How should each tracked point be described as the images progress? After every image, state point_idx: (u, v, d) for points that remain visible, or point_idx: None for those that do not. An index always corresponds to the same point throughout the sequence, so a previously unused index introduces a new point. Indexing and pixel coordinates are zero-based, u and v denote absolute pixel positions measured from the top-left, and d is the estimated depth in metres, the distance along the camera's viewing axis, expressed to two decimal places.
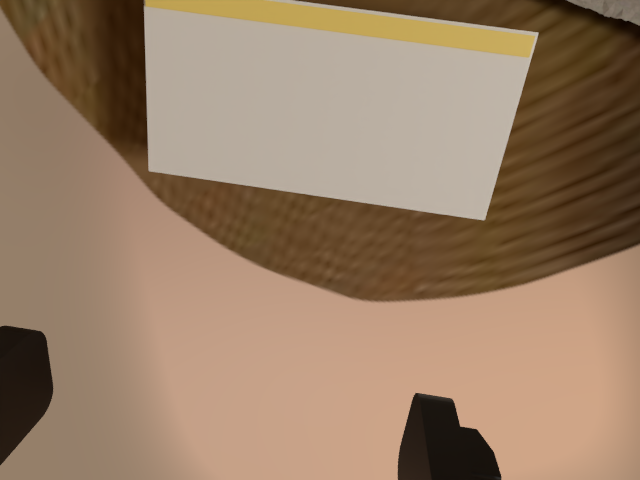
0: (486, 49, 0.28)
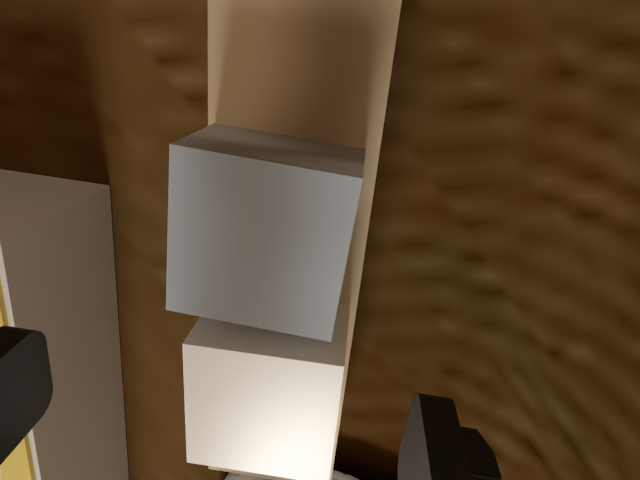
0: None
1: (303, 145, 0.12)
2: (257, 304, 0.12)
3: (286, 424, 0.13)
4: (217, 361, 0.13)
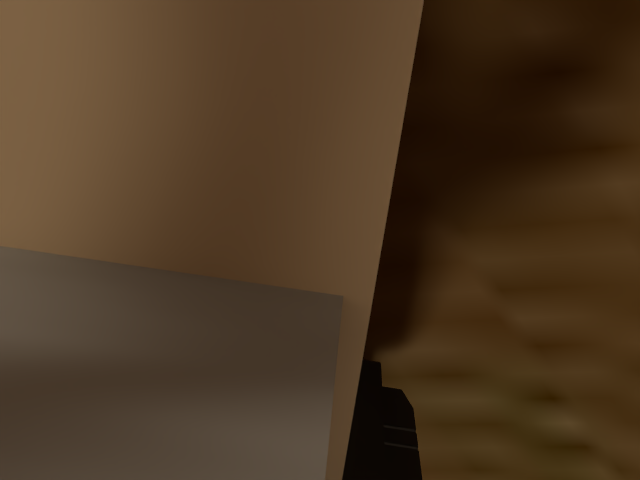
0: None
1: (172, 317, 0.05)
2: None
3: None
4: None
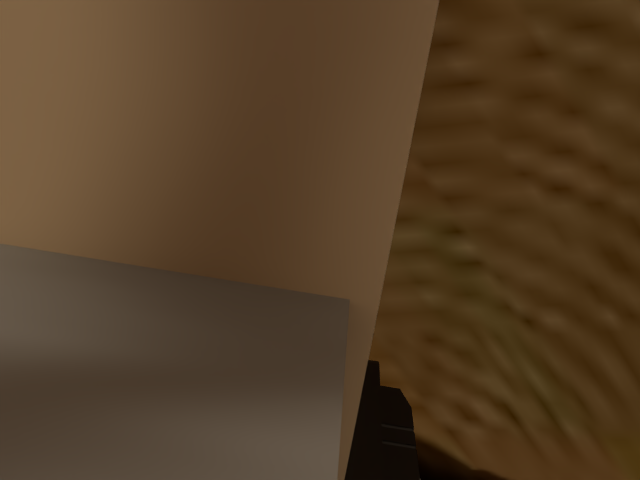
0: None
1: (178, 319, 0.05)
2: None
3: None
4: None
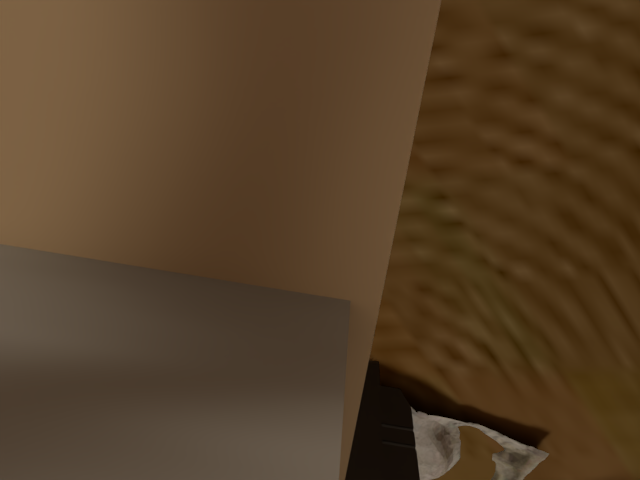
0: None
1: (179, 320, 0.05)
2: None
3: None
4: None
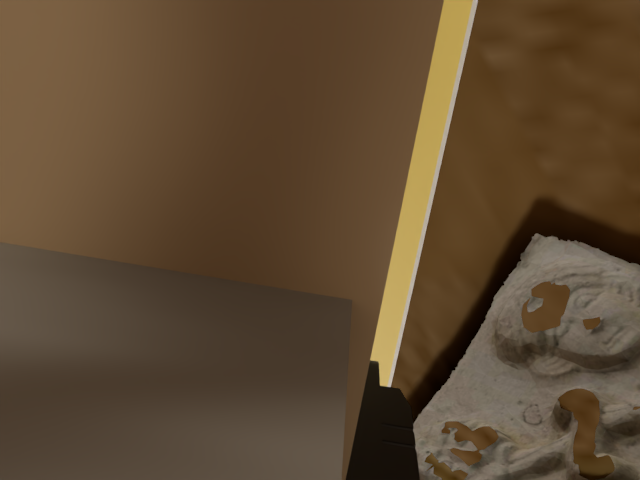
0: None
1: (180, 319, 0.04)
2: None
3: None
4: None
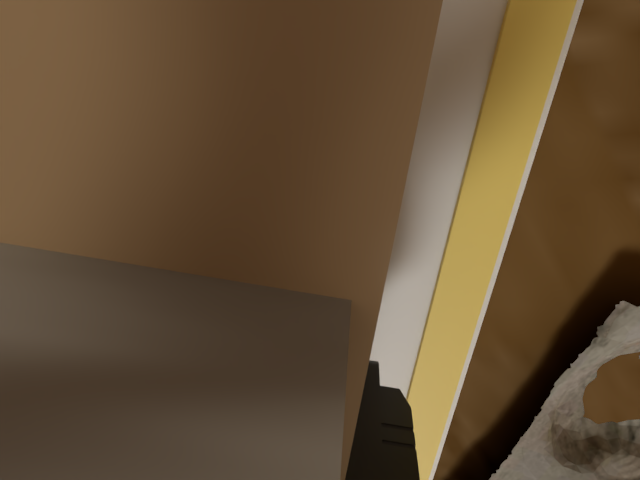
0: None
1: (179, 319, 0.05)
2: None
3: None
4: None
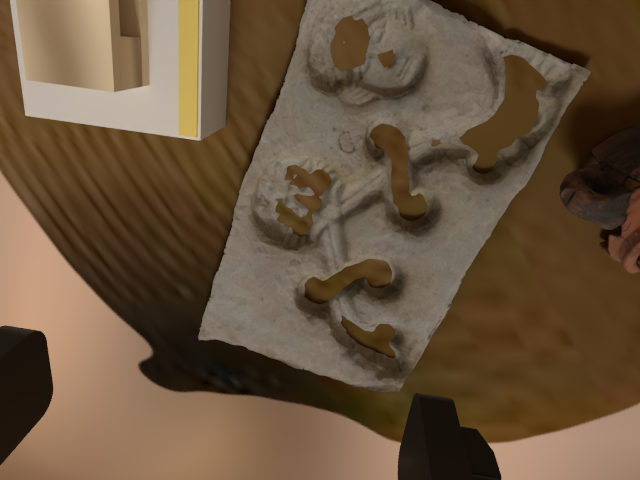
0: (180, 94, 0.29)
1: None
2: None
3: None
4: None
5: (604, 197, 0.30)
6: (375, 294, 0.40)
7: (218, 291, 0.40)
